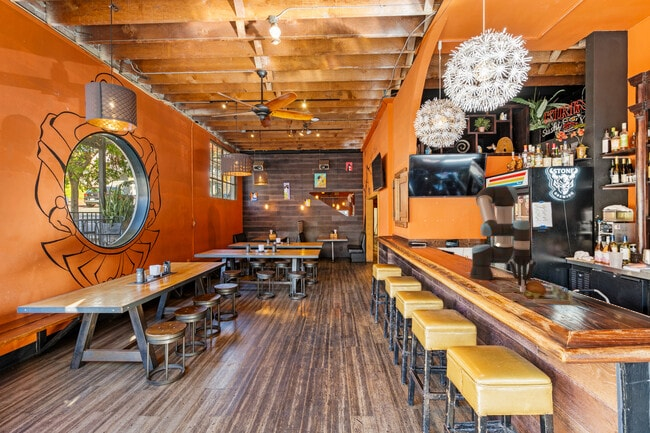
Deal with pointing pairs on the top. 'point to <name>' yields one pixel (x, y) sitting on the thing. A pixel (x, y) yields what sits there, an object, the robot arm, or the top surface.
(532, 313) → the top surface
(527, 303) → the mat
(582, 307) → the top surface
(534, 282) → the cheeseburger
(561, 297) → the lane
